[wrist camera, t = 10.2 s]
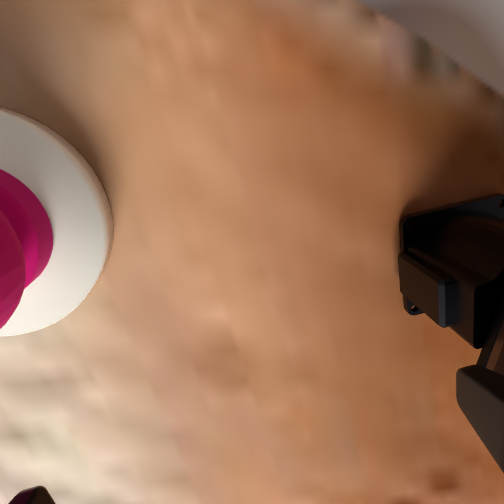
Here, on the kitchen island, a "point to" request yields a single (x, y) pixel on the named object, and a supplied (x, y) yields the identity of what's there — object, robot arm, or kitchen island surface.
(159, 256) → the kitchen island surface
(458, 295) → the robot arm
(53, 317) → the stand
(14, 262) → the pepper mill
